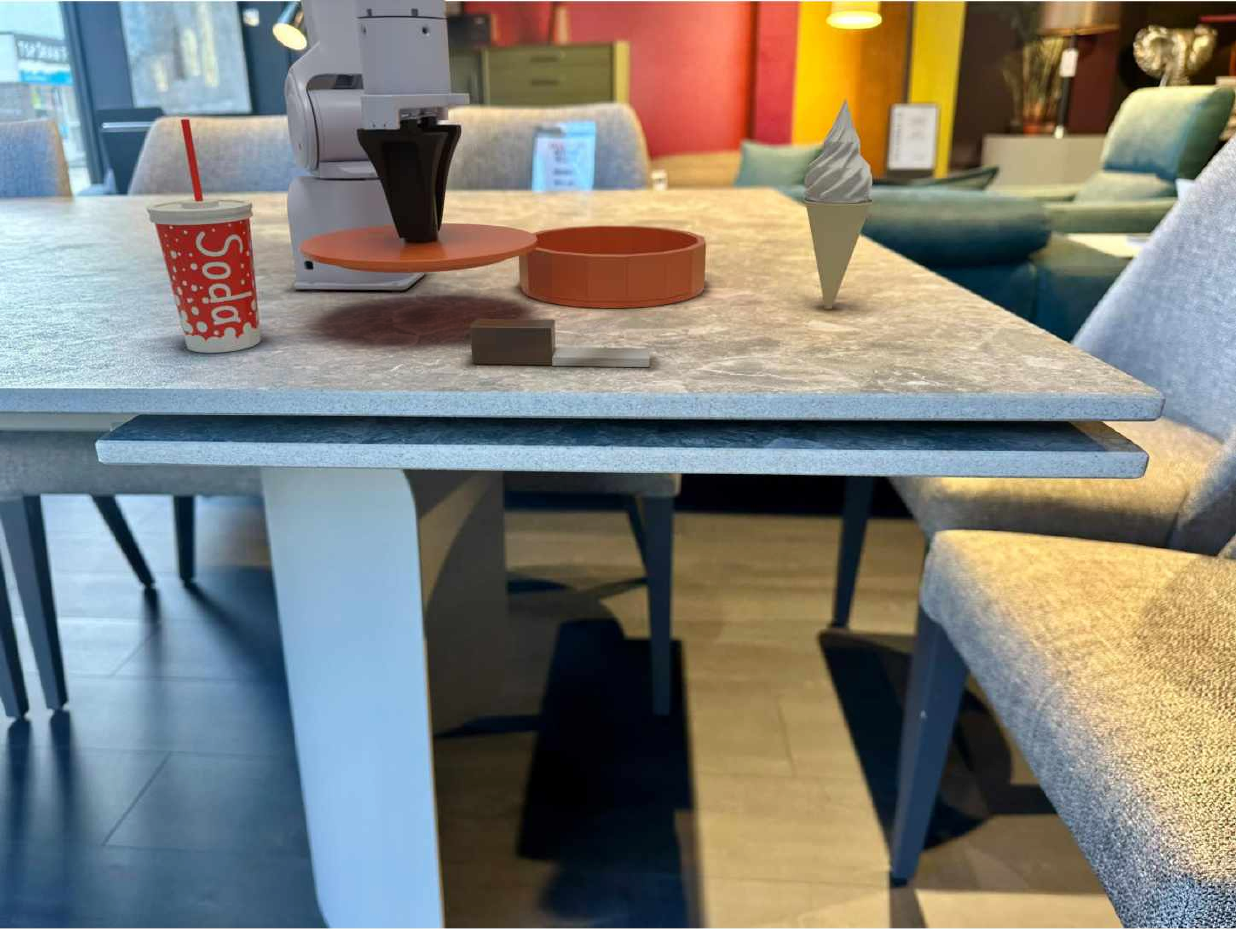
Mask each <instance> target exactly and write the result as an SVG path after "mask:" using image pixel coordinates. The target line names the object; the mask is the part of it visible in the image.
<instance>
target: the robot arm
mask: <svg viewBox="0 0 1236 929" xmlns="http://www.w3.org/2000/svg"><path fill="white" fill-rule="evenodd" d="M299 2H300V5H301V10H302V15H303V19H304V24H305V29H306V33H307V37H308V42H309V47H310V48H309V49H308V50H307V51H306V52H305V53H304V54H303V55H302V56H300V58H298V59H297V60H296V61H295V62H294V63H292V65H291V66H290V67H289V69H288V72H287V75H286V77H285V81H284V91H283V92H284V99H285V104H286V116H287V117H286V119H287V127H288V133H289V134H288V135H289V141H290V145H291V149H292V152H293V156H294V159H295V161H296V163H297V165H299V166H300V167H301V168H302V169H303V170H304V172H307V173H309V174H310V175H300V176H296V177H294V178H293V179H292V180H291V182H290V184H289V185H288V186H289V187H288V190H287V197H286V211H287V212H286V213H287V221H288V228H289V234H290V235H289V236H290V243H291V250H292V257H293V264H294V271H295V279H296V281H295V282H294V283H293V288H294V289H296V290H352V291H353V290H354V291H355V290H356V291H357V290H359V291H367V290H369V291H374V290H375V291H404V290H407V289H408V288H410V287H411V286H412V285H413V284H414V283H416V282H417V281H418V280H420V279H421V278H422V277H423V276H425V275H426V274H428V272H425V273H382V272H367V271H358V270H351V269H346V268H342V267H339V266H334V265H328V264H322V263H318V262H314V261H311V260H308V259H306V258H305V257H303V256H302V254H301V252H300V245H301V244H302V243H303V242H304V241H306V240H308V239H310V238H313V237H316V236H319V235H323V234H327V233H331V232H337V231H342V230H349V229H356V228H364V227H374V226H385V225H395V228H396V231H397V233H398V235H399V238H429V237H430V235H431V231H432V225H433V213H434V190H435V201H436V214H437V227H438V231H439V230H440V228H441V223H443V216H444V210H445V209H444V208H445V201H446V192H447V185H448V179H449V178H448V177H449V172H450V168H451V165H452V164H451V163H452V160H453V157H454V154H455V151H456V148H457V145H458V143H459V141H460V139H461V135H462V125H461V124H455V123H454V124H452V123H451V124H450V123H447V124H445V123H444V124H443V123H442V124H439V123H438V122H437V121H448V120H449V119H450V117H449V108H453V107H454V106H456V105H460V106H461V105H462V106H463V105H465V106H466V105H470V104H471V100H470V98H471V97H470V93H454V92H453V93H452V83H451V82H452V81H451V80H452V79H451V68H450V53H449V52H450V51H449V35H448V21H447V7H446V0H299Z"/></svg>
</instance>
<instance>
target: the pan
mask: <svg viewBox="0 0 1236 929" xmlns="http://www.w3.org/2000/svg"><path fill="white" fill-rule="evenodd" d="M531 233H532V234H534V235H535V236H536V237H537V247H536V248H535V249H534V250H533V251H531V252H529V253H527V254H524V255H521V256H518V273H519V274H518V275H519V284H520V286H521V291H522V293H524V294H525V295H526V296H528V297H530V298H532V299H535V300H538V301H540V302H545V303H549V304H553V305H554V304H555V305H561V306H567V307H568V306H569V307H576V308H577V307H579V308H593V309H633V308H634V309H635V308H647V307H657V306H663V305H670V304H676V303H679V302H685V301H688V300H690V299H694V298H695V297H697V296H699V295H700V294H702V292H703V291H704V289H705V288H704V287H705V284H706V282H705V281H706V256H707V241H706V238H705V237H704V236H702V235H700V234H697V233H695V232H691V231H687V230H681V229H675V228H669V227H668V228H667V227H657V226H645V225H609V224H607V225H604V224H603V225H602V224H601V225H599V224H598V225H584V226H581V225H580V226H567V227H566V226H565V227H559V228H552V229H544V230H538V231H535V232H531Z"/></svg>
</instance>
